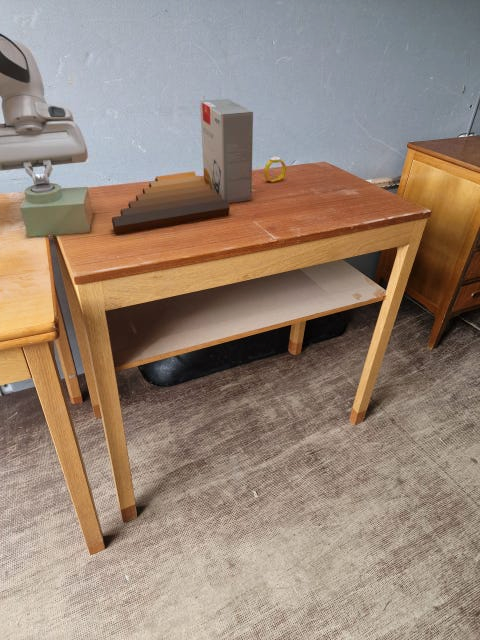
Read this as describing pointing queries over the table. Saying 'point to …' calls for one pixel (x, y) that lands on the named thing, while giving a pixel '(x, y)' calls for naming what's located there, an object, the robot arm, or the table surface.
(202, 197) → the pan flute
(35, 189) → the grey push button
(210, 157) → the hard drive box
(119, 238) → the table surface
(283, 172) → the yellow toy ring
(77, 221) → the dispenser
